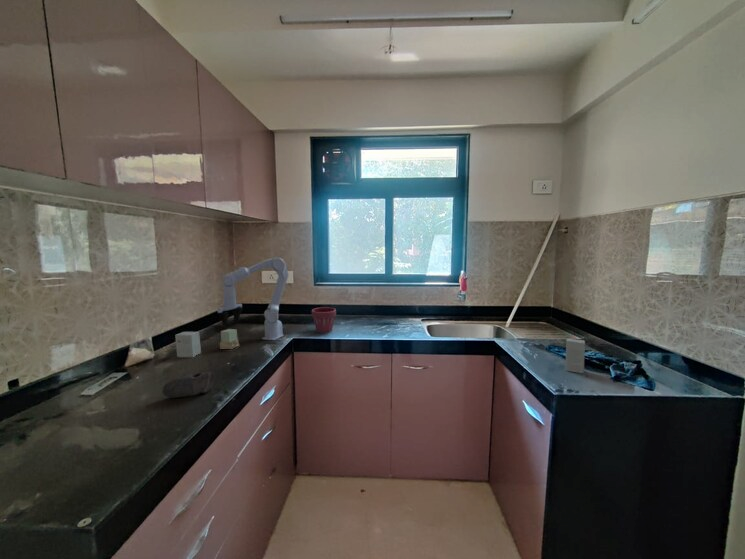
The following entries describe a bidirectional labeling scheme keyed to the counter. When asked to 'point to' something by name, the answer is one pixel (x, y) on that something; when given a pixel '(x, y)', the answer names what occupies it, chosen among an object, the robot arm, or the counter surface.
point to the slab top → (228, 343)
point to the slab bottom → (230, 347)
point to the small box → (188, 344)
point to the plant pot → (324, 318)
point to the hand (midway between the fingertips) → (231, 323)
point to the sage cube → (229, 335)
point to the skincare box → (575, 355)
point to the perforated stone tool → (189, 385)
